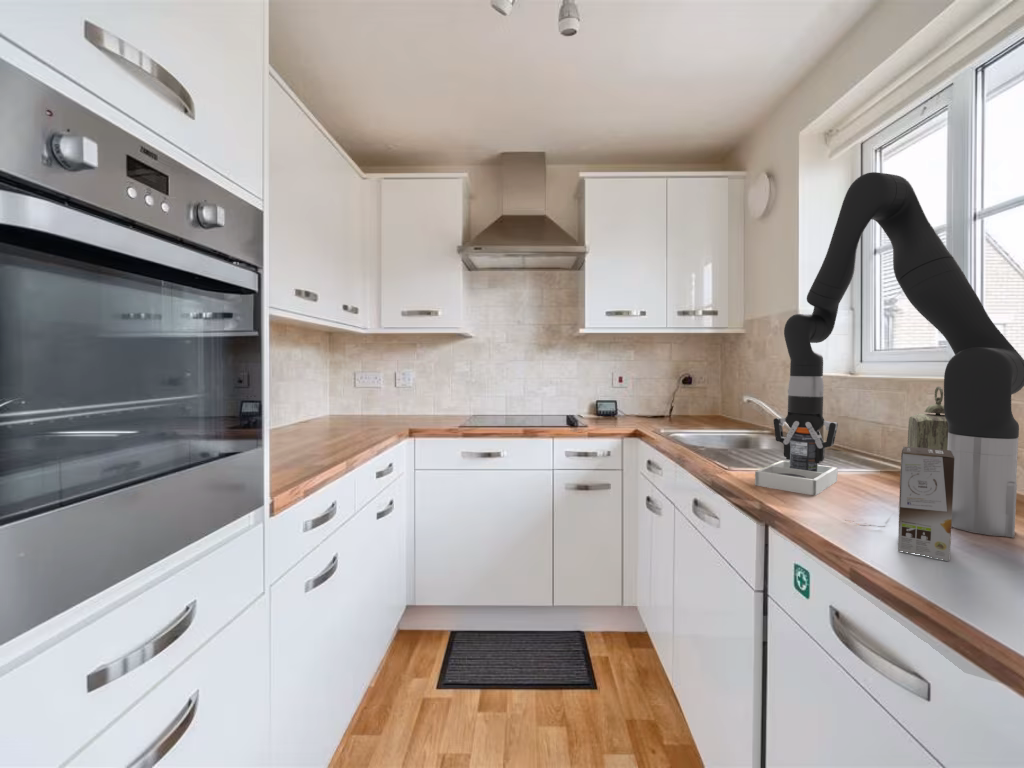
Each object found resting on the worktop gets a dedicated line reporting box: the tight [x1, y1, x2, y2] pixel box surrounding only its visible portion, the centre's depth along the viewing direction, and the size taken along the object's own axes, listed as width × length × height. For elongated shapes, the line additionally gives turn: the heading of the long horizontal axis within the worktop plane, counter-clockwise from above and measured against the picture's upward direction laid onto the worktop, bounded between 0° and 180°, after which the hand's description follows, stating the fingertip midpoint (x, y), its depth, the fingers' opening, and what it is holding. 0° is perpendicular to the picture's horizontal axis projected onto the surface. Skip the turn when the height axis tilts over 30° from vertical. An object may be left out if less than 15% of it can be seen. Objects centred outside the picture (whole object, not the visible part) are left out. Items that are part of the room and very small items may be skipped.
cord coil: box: [780, 473, 806, 478], centre depth 114 cm, size 6×6×2 cm
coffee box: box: [897, 446, 955, 561], centre depth 78 cm, size 9×6×16 cm
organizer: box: [754, 460, 839, 496], centre depth 117 cm, size 13×20×4 cm, turn 135°
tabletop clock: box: [907, 386, 948, 450], centre depth 123 cm, size 14×9×25 cm, turn 148°
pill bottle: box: [789, 427, 818, 472], centre depth 121 cm, size 6×6×11 cm
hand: (803, 460), depth 121 cm, fingers closed on pill bottle, 6 cm apart
